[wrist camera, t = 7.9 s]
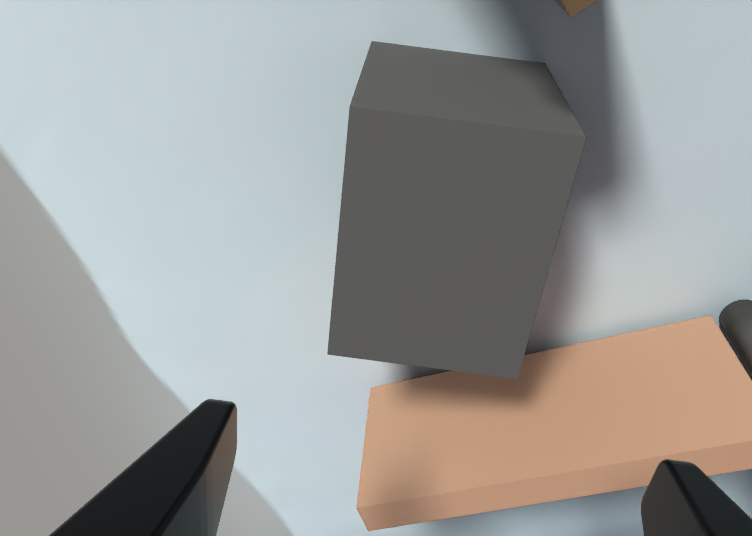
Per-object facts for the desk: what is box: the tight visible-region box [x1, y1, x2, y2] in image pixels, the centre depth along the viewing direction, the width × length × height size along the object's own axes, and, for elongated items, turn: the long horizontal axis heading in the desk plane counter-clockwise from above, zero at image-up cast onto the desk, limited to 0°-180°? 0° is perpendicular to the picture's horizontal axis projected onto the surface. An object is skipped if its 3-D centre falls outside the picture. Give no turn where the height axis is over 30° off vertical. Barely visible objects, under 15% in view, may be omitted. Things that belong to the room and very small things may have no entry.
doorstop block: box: [328, 41, 586, 379], centre depth 17 cm, size 6×4×6 cm
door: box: [357, 315, 752, 531], centre depth 20 cm, size 11×1×5 cm, turn 108°
